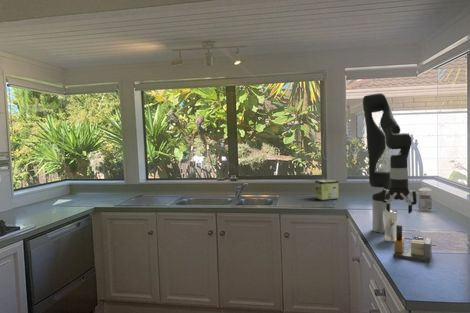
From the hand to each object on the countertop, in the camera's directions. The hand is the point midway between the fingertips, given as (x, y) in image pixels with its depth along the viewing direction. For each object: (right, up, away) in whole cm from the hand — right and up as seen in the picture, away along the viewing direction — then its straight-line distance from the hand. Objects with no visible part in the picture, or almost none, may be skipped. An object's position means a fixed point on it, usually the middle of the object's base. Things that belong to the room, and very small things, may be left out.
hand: (399, 212), depth 166 cm
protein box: (0, -10, +129) cm, 129 cm away
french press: (+53, -11, +81) cm, 97 cm away
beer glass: (+3, -17, +17) cm, 24 cm away
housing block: (+5, -17, -8) cm, 19 cm away
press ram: (-2, -16, -4) cm, 17 cm away
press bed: (+3, -18, -7) cm, 19 cm away
